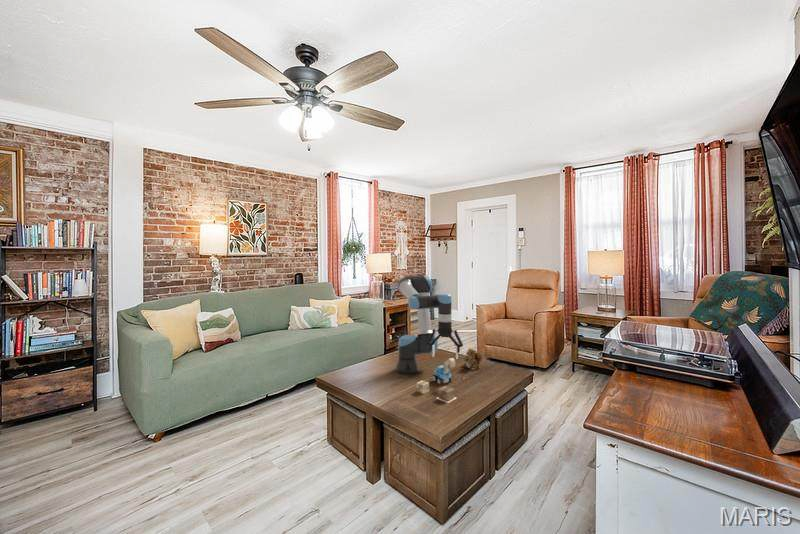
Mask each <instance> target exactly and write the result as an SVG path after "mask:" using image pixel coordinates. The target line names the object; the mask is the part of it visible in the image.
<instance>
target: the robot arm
mask: <svg viewBox="0 0 800 534" xmlns="http://www.w3.org/2000/svg"><path fill="white" fill-rule="evenodd" d="M397 289H398V291H399V293H401V294H402V295H404V297H406V299H407V302H408V303H407V304H408V305H407V306H408V308H409V309H410V310H417V311H416V313H417V321H418V323H417V324H418V332H417V334H416V335H417V336H416V335H415V334H405V335H402V336H400V337H399V338H398V342H397V343H398V344H397V346H398V360H397V365H396V367H395V368H396V370H395V371H396V372H397V373H399V374H402V375H412V374H416V373H418V372H419V365H418V362H417V355H425V354H428V355H430V354H431V355H432V356H431V357H432V358H434V357H435V353H436V352H437V350H438V347H439V338H440V337H441V338H449V339H450V340H451V341H452V343H453V344H454V346H456V347H455V359H456V360H458V359H459V354H460V351H461V348H462V347H463V346H464V344H463V341H462V340H461V338H460V336H459V333H458V330H457V329H452V301H453V300H452V295H451V294H450V293H439V294H434V295H430V294H431V292H432V290H433V282H432V278H430V277H429V276H428V275H422V274H421V275H407V276H404V277H403V278H401V279H399V281H398V283H397ZM430 309H437V318H438V319H437V320H438V324H437V325H438V327H437V328H435V327H434V328H433V329H432V322H431V312H430ZM436 333H438V335H436ZM452 333H453V334H452ZM453 335H454V336H455V337H456V339H457V340H456V339H455V337H454V336H453Z"/></svg>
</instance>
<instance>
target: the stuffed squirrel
mask: <svg viewBox="0 0 800 534" xmlns="http://www.w3.org/2000/svg"><path fill="white" fill-rule="evenodd" d="M465 355H466V357H463V358H464V359H463V361H464V363H463V364H461V367H462V368H467V369H470V371H476V370H477V368H478V367H479V366H480V365H481V362H482V360H483V359H484V355H483V354H482V353H481V352H477V350H475V349H473V348H470V347H468V350H467V352H465Z"/></svg>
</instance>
